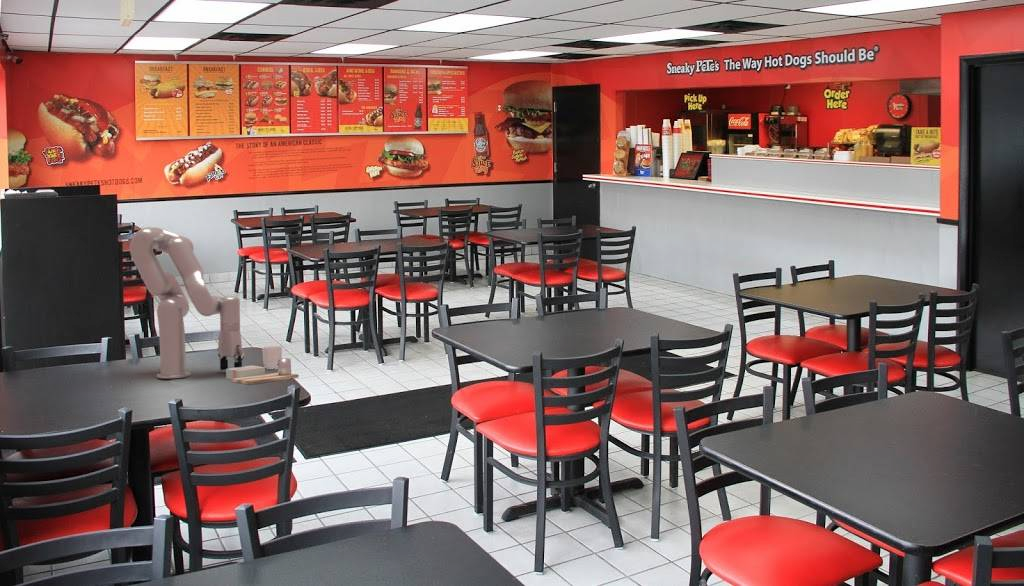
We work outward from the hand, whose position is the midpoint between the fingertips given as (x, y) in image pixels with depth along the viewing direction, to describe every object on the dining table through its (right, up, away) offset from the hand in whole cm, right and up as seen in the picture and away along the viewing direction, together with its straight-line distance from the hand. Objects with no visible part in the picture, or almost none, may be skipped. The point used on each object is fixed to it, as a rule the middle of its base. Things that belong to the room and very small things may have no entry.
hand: (231, 370), depth 389 cm
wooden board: (+17, -3, -12) cm, 21 cm away
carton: (+8, -2, -7) cm, 10 cm away
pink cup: (+14, -1, +12) cm, 18 cm away
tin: (+23, -1, -8) cm, 24 cm away
